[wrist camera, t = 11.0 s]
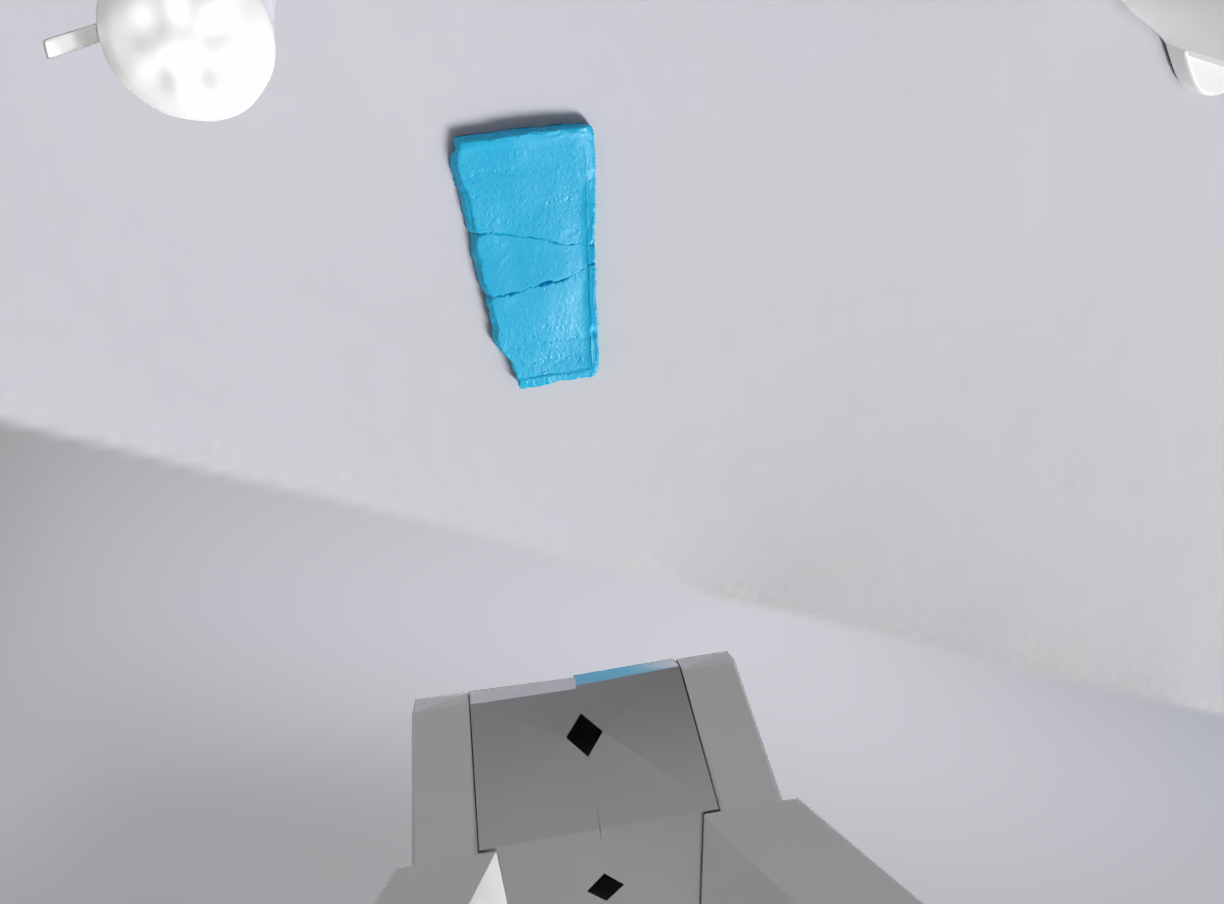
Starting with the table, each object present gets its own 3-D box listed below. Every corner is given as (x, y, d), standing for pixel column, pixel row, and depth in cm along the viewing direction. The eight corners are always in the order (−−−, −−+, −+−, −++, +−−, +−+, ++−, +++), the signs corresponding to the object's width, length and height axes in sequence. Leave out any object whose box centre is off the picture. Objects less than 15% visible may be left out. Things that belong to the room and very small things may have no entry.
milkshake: (114, -112, 31) (22, -51, 23) (290, -95, 32) (259, -31, 24) (139, 38, 34) (63, 138, 26) (300, 49, 35) (275, 148, 27)
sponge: (474, 394, 44) (602, 388, 45) (443, 133, 37) (596, 127, 37) (475, 376, 46) (600, 370, 46) (446, 119, 38) (594, 114, 39)
